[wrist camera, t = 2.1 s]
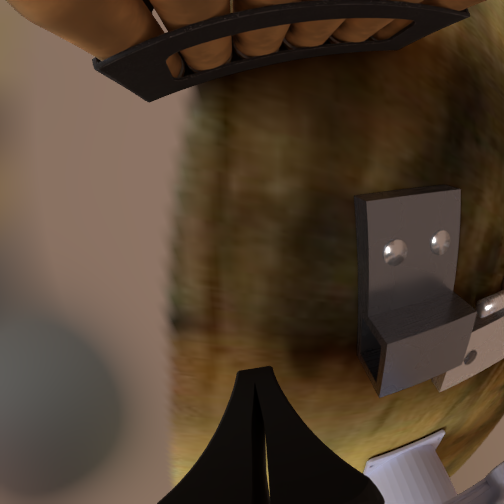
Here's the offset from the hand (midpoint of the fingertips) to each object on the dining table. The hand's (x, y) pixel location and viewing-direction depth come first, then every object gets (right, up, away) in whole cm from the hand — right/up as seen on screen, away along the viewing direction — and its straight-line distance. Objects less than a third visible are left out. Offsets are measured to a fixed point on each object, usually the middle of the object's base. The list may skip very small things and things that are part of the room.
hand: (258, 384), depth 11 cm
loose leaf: (+7, +4, +1) cm, 8 cm away
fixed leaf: (+16, +1, +3) cm, 16 cm away
